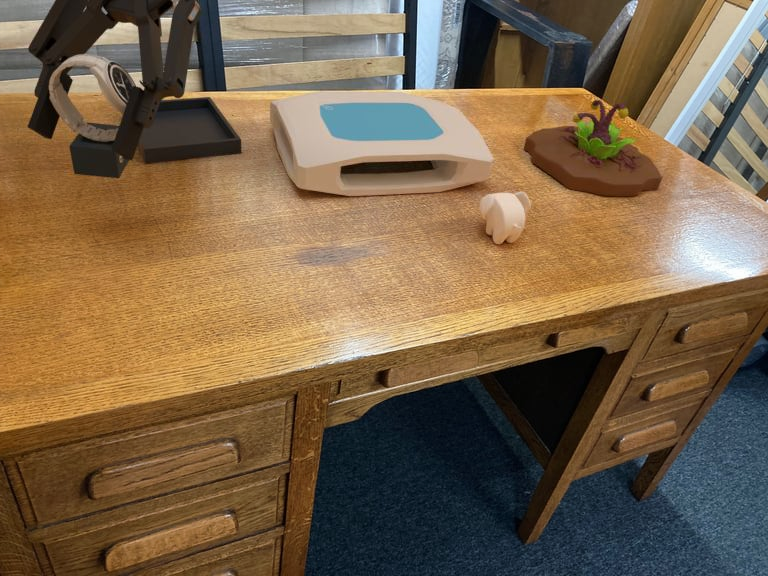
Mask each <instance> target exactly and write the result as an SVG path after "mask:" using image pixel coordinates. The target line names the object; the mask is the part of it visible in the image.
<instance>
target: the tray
mask: <svg viewBox="0 0 768 576" xmlns="http://www.w3.org/2000/svg"><path fill="white" fill-rule="evenodd" d="M137 149H138V151H139V153H140V155H141V157H142V159H143V162H144V163H145V164H154V163H163V162H170V161H171V162H172V161H179V160H188V159H198V158H206V157H207V158H208V157H216V156H224V155H232V154H233V155H234V154H242V139H241V137H240V136H239V134H238V133H237V132H236V130H235V129H234V127H233V126H232V125H231V123H230V122H229V120H228V119H227V118H226V117H225V115H224V114H223V112H222V111H221V110H220V108H219V107H218V106H217V105H216V103H215V101H214V100H213V99H212V98H211V96H206V97H204V96H203V97H188V98H173V99H162V100H161V102H160V104H159V107H158V110H157V113H156V116H155V119H154V122H153V125H152V126H151V127H150V128H149V129H148V128H143V131H142V134H141V137H140V139H139V142H138V145H137Z"/></svg>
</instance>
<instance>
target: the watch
mask: <svg viewBox="0 0 768 576" xmlns="http://www.w3.org/2000/svg"><path fill="white" fill-rule="evenodd" d="M70 66H73V67H75V66H78V67H84V66H85V67H86V68H87V67H88V68H89V71H90V73H91V74H92V75H93V76H94V77H95V79H96V80H97V84H98V86H99V89H100V91H101V93H102V95H103V97H104V98H105V100H106V101H107V103H109V105H110V106H111V107H112V108H113V109H114V110H116V111H117V112H119V113H120V114H121V115H122V116H123V114H124V111H125V108H126V106H127V103H128V100H129V97H130V94H131V91H132V88H133V86H136V87H137V85H136V83H135V81H134V80H133V78H132V76H131V75H130V73H129V72H128V71H127V70H126V68H125V67H123V66H122V65H121V64H120V63H119V62H117V61H114V60H110V59H107V57H105V56H101V55H96V54H91V53H85V54H82V55H81V54H79V55H75V56H73V57H70V58H68V59H67V60H66V61H65V62H63V63H62V64H61V65H60V66H59V67H58V68H57V69H56V70H55V71H54V72H53V74H52V76H51V78H50V81H49V83H50V84H49V91H50V100H51V102H52V104H53V106H54V108H55V109H56V111H57V113H58V114H59V116H60V117H59V118H61V119H62V121H63V122H64V123H65V125H66V126H67V127H68V128H69V129H70V130H71V132H74V133H77V134H76V136H75V138H74V139H73V141H72V142H71V143H70V144H69V152H70V157H71V163H72V168H73V174H74V175H80V176H88V177H99V178H100V177H101V178H110V179H120V178H121V176H122V174H123V173H124V171H125V169H126V167H127V165H128V163H129V162H130V160H128V159H125V158H123V157H122V156H120V155H119V154H118V153H116V152H115V151H113V150H112V149H111V148H112V146H113V143H114V140H115V137H116V134H117V131H118V128H119V126H120V125H117V124H107V123H98V122H87V121H85V120H84V119H85V118H84V116H83V115H82V114H81V112H80V111H79V110H78V109H77V108H76V106H75V104H73V102H72V100H71V98H70V97H69V94H68V95H67V93H66V91H65V90H64V89H63V86H62V83H60V78H59V77H60V75H61V72H62V70H63V69H65V68H66V67H70Z"/></svg>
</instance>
